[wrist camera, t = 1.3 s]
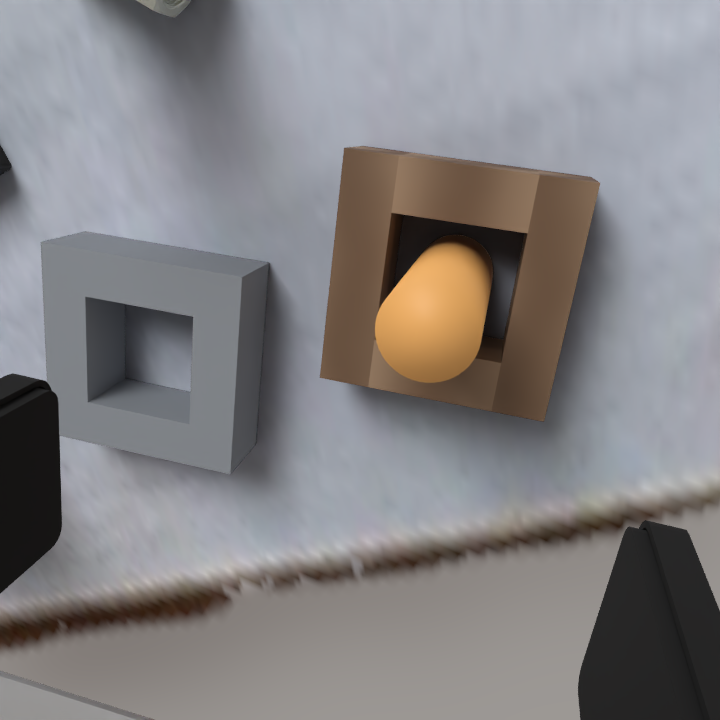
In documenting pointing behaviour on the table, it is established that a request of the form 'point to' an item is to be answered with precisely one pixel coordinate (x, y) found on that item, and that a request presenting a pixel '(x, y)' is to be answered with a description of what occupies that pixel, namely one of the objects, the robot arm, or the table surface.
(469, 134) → the table surface
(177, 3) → the valve
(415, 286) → the pin
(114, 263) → the socket block
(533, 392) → the block
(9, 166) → the disk drive
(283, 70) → the table surface
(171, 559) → the table surface
